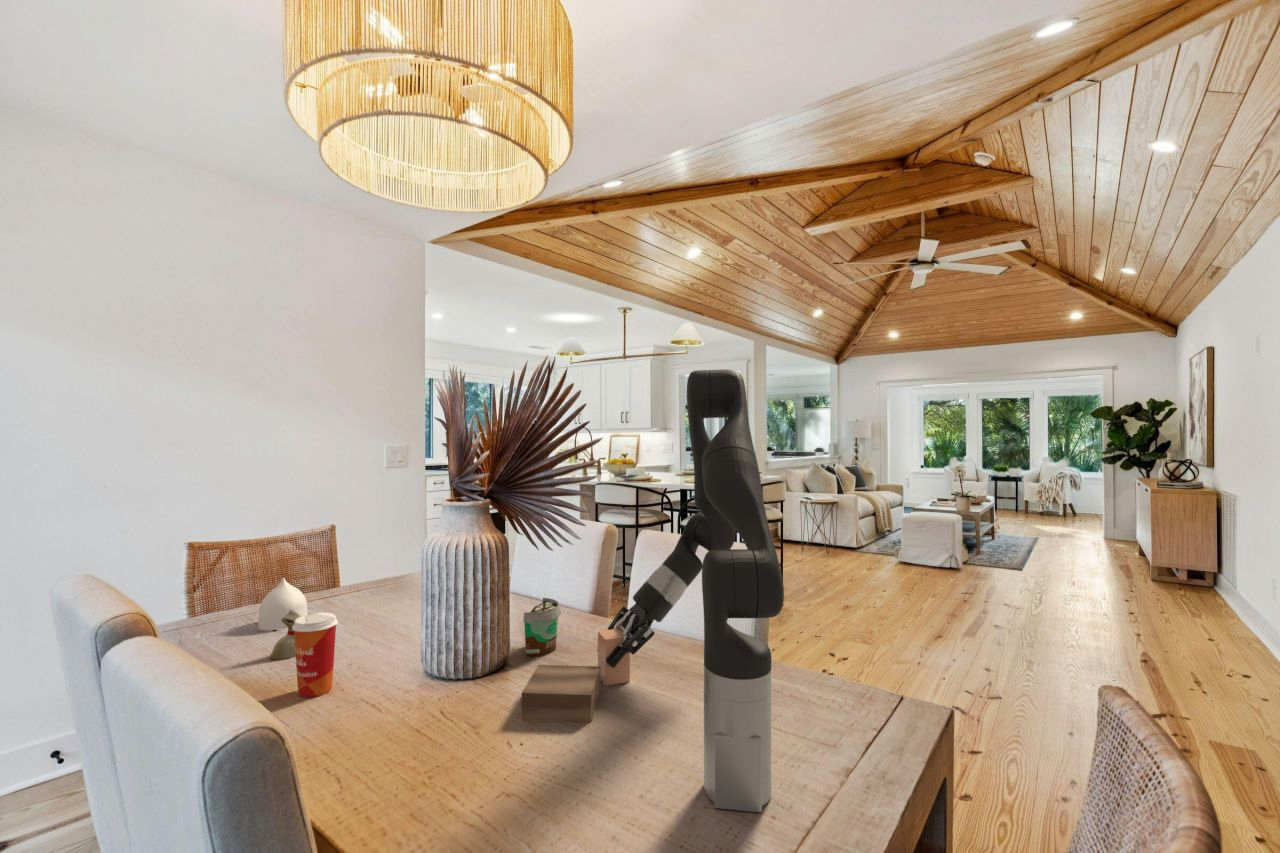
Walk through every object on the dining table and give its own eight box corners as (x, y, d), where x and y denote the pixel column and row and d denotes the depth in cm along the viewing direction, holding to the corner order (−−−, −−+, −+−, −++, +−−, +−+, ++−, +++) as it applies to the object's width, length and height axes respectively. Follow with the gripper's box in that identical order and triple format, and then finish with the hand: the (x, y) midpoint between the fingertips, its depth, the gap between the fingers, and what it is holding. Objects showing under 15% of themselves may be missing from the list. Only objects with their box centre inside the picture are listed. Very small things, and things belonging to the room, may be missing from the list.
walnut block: (590, 724, 101) (590, 695, 101) (521, 721, 102) (521, 692, 102) (600, 692, 113) (600, 666, 113) (538, 690, 114) (538, 664, 114)
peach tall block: (629, 681, 117) (629, 636, 117) (605, 685, 115) (605, 639, 115) (621, 672, 122) (621, 628, 122) (597, 675, 120) (597, 631, 120)
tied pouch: (310, 656, 131) (310, 610, 131) (268, 661, 128) (268, 614, 128) (313, 647, 136) (313, 603, 136) (273, 652, 133) (273, 607, 133)
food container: (550, 661, 128) (550, 614, 128) (523, 659, 129) (523, 613, 129) (568, 641, 140) (568, 598, 140) (543, 639, 141) (543, 596, 141)
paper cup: (286, 691, 113) (286, 618, 113) (329, 679, 119) (329, 609, 119) (300, 705, 108) (300, 627, 108) (344, 691, 113) (344, 617, 113)
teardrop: (292, 631, 147) (291, 582, 147) (247, 631, 147) (247, 582, 147) (316, 617, 158) (316, 571, 158) (275, 616, 158) (275, 571, 158)
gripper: (635, 572, 128) (581, 636, 124) (662, 590, 115) (602, 661, 110) (658, 595, 130) (606, 657, 126) (687, 614, 117) (629, 685, 112)
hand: (604, 659), depth 118 cm, fingers closed on peach tall block, 5 cm apart
